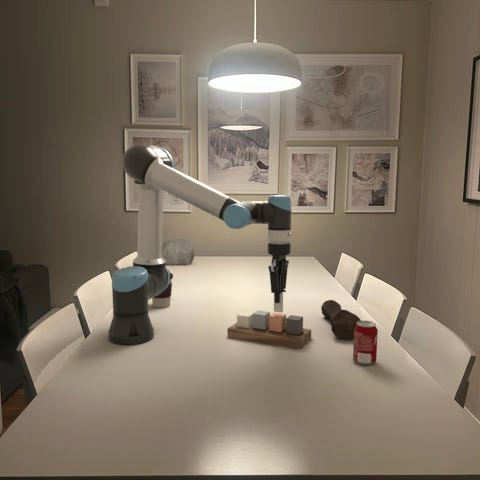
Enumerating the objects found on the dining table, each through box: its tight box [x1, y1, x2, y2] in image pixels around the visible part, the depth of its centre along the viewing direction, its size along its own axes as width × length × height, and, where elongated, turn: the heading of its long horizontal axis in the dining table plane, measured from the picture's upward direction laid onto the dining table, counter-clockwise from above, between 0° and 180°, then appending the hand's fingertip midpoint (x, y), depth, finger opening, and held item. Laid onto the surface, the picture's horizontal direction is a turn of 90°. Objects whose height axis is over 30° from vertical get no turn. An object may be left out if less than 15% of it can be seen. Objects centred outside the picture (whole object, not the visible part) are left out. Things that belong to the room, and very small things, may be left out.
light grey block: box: [252, 310, 271, 330], centre depth 168 cm, size 4×4×5 cm
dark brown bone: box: [320, 299, 362, 341], centre depth 177 cm, size 11×10×28 cm
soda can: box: [352, 320, 379, 366], centre depth 145 cm, size 7×7×12 cm
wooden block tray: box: [226, 322, 312, 350], centre depth 167 cm, size 12×26×3 cm, turn 65°
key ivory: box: [236, 311, 253, 328], centre depth 170 cm, size 4×4×5 cm
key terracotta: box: [269, 312, 287, 332], centre depth 165 cm, size 4×4×5 cm
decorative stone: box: [162, 236, 195, 266], centre depth 294 cm, size 17×20×10 cm
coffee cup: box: [151, 269, 174, 309], centre depth 204 cm, size 10×10×15 cm
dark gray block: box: [286, 314, 304, 335], centre depth 163 cm, size 4×4×5 cm
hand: (278, 311), depth 165 cm, fingers closed
